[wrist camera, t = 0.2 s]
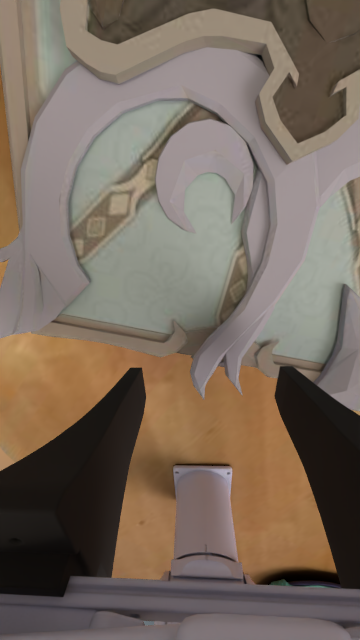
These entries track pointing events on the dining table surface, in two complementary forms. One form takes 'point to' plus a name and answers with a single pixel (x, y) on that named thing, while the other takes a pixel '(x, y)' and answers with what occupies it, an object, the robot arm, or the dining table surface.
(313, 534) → the dining table surface
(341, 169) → the ornate book
